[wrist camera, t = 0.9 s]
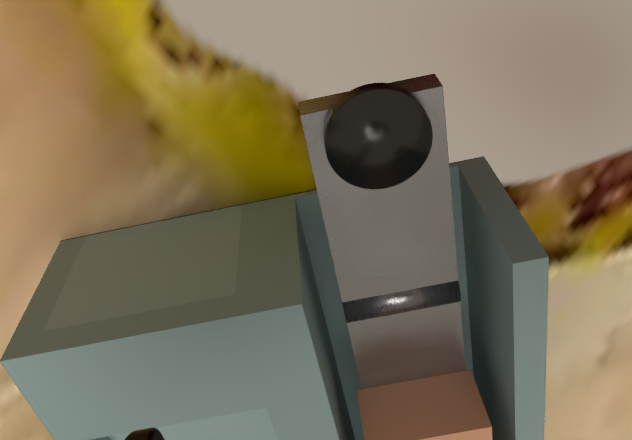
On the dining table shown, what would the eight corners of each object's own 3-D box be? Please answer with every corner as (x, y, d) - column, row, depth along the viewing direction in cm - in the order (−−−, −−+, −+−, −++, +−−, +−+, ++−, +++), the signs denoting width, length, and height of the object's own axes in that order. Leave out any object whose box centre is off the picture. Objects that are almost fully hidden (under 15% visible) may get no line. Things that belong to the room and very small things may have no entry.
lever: (467, 454, 28) (478, 490, 26) (380, 469, 28) (387, 506, 26) (431, 54, 17) (446, 76, 16) (294, 83, 17) (297, 107, 16)
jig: (496, 455, 32) (540, 576, 27) (201, 507, 33) (188, 633, 27) (483, 156, 22) (548, 257, 17) (60, 241, 23) (-1, 361, 18)
